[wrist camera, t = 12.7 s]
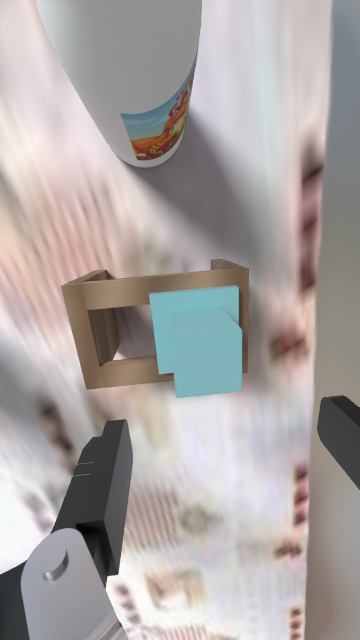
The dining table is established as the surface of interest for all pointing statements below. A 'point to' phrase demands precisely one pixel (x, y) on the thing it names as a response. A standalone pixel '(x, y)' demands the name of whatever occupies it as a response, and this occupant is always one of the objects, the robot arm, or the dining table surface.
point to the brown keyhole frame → (103, 295)
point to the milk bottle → (129, 68)
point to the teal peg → (199, 339)
